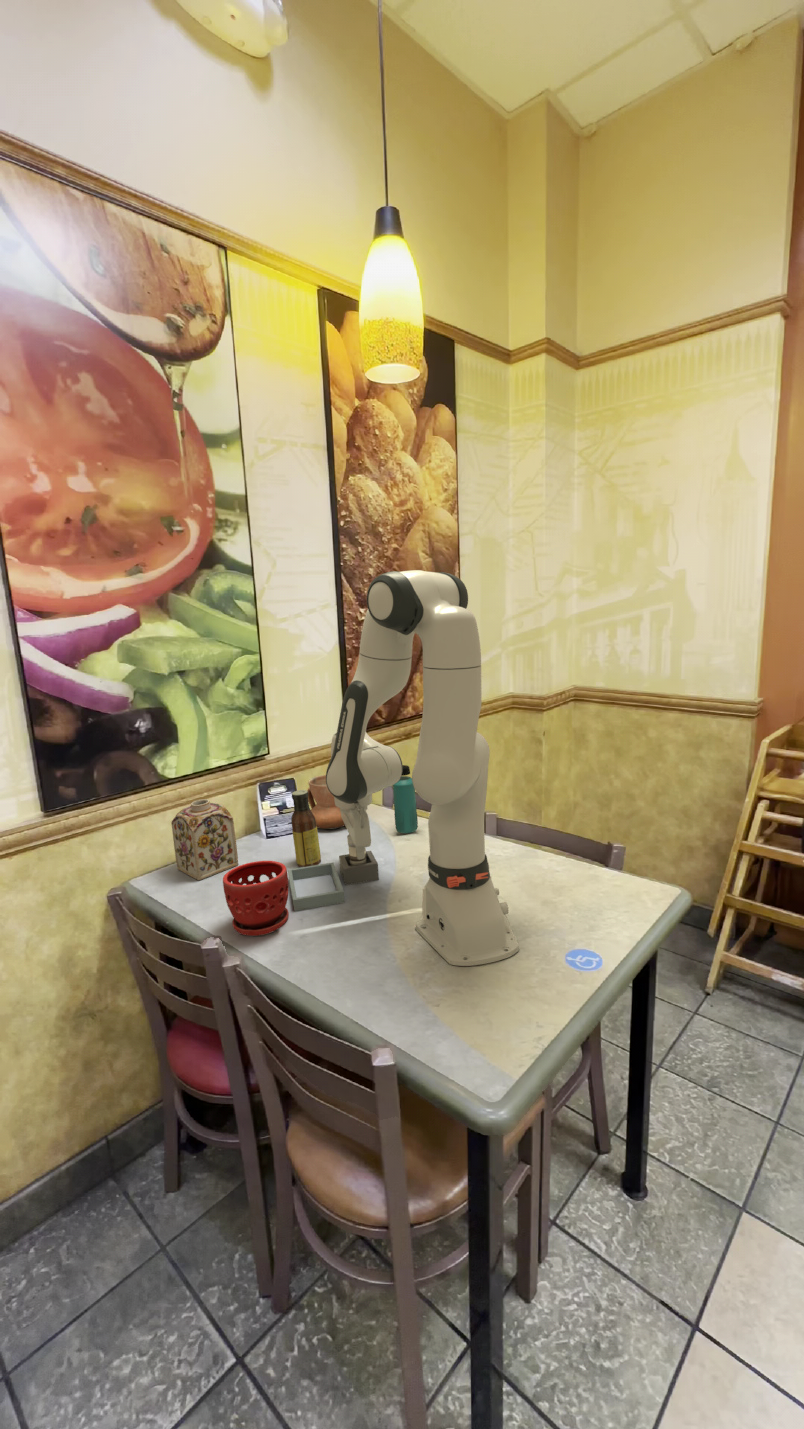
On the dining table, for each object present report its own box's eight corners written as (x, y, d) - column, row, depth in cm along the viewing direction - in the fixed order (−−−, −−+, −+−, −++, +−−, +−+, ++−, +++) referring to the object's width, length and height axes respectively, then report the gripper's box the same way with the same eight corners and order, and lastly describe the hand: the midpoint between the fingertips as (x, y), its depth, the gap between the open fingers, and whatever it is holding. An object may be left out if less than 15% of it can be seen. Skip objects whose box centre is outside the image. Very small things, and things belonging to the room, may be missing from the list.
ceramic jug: (369, 822, 184) (365, 776, 181) (333, 837, 173) (329, 789, 171) (329, 812, 196) (325, 769, 193) (293, 825, 185) (289, 780, 183)
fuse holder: (379, 883, 144) (377, 863, 143) (345, 889, 142) (344, 869, 141) (372, 869, 151) (370, 850, 151) (340, 874, 150) (338, 855, 149)
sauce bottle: (323, 860, 158) (317, 787, 155) (318, 871, 152) (311, 795, 148) (299, 861, 159) (292, 788, 155) (292, 871, 153) (285, 796, 149)
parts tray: (345, 906, 134) (343, 891, 133) (294, 915, 131) (293, 900, 131) (334, 875, 149) (333, 862, 149) (289, 883, 147) (287, 869, 146)
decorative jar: (240, 865, 158) (232, 799, 155) (198, 882, 150) (189, 813, 147) (216, 854, 167) (208, 791, 163) (176, 869, 158) (167, 803, 155)
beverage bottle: (422, 835, 171) (418, 767, 167) (400, 840, 169) (395, 770, 165) (413, 828, 177) (409, 761, 173) (391, 832, 175) (387, 765, 171)
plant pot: (303, 913, 132) (298, 861, 130) (268, 946, 120) (262, 889, 118) (253, 905, 137) (247, 855, 135) (215, 935, 125) (208, 881, 123)
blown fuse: (369, 877, 145) (366, 837, 143) (352, 880, 144) (348, 840, 142) (366, 870, 149) (363, 831, 147) (349, 872, 148) (346, 834, 146)
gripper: (375, 808, 134) (379, 866, 136) (358, 782, 153) (362, 834, 156) (347, 812, 132) (351, 871, 135) (333, 785, 152) (338, 838, 154)
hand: (357, 851), depth 145 cm, fingers open, 7 cm apart
